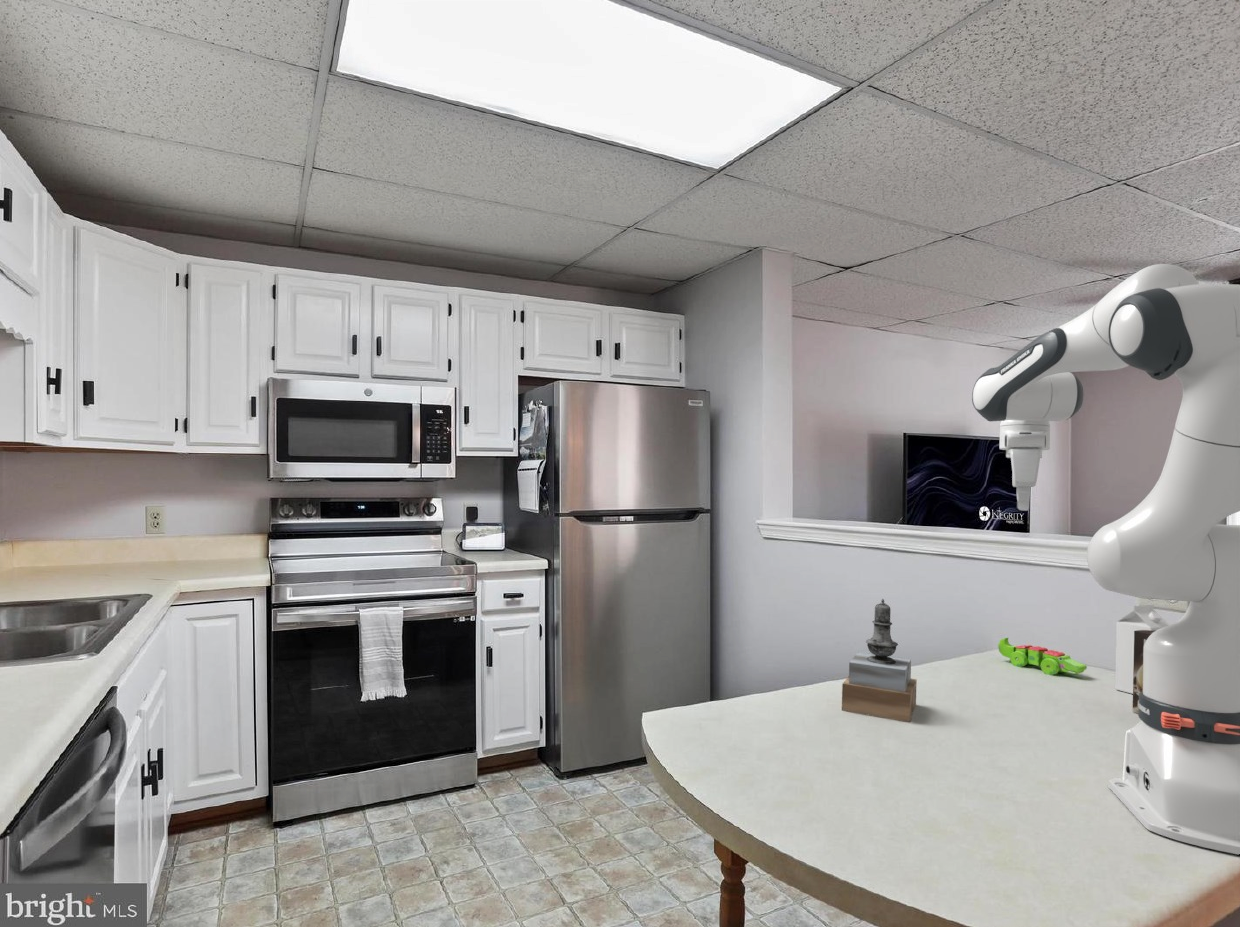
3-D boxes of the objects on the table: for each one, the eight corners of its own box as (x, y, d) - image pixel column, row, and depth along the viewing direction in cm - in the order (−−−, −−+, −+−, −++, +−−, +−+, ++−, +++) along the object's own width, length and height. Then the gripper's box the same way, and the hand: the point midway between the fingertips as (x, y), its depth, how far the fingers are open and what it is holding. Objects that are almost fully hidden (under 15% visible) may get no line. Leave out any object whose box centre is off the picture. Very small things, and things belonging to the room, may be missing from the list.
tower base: (909, 722, 131) (910, 672, 131) (841, 710, 137) (842, 662, 137) (915, 704, 142) (917, 658, 142) (853, 694, 147) (854, 650, 147)
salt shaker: (892, 666, 135) (894, 602, 135) (861, 660, 139) (862, 598, 139) (901, 660, 140) (902, 598, 140) (870, 655, 143) (872, 595, 144)
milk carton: (1114, 690, 157) (1116, 603, 158) (1134, 687, 160) (1135, 601, 161) (1150, 699, 151) (1151, 608, 151) (1170, 696, 154) (1171, 607, 154)
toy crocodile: (1090, 679, 167) (1091, 652, 167) (1074, 682, 164) (1074, 655, 164) (1009, 658, 184) (1010, 635, 184) (993, 661, 181) (994, 637, 181)
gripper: (1005, 444, 155) (1004, 508, 154) (1007, 437, 137) (1005, 510, 136) (1039, 444, 152) (1038, 509, 152) (1045, 437, 134) (1043, 511, 133)
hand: (1022, 510), depth 144 cm, fingers open, 8 cm apart
